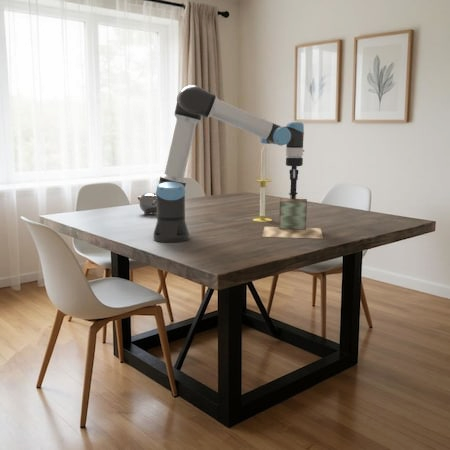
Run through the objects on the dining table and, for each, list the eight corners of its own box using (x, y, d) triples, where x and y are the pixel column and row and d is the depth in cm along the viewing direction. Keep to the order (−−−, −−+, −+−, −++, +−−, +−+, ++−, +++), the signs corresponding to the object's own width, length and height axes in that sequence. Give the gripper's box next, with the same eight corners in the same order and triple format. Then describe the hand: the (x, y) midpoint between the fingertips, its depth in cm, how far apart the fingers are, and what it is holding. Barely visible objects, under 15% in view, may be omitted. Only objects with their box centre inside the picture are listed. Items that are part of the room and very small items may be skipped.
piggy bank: (163, 216, 281) (162, 194, 279) (135, 215, 283) (134, 194, 281) (168, 213, 292) (167, 192, 290) (141, 212, 294) (140, 191, 292)
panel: (279, 229, 249) (279, 201, 243) (279, 226, 252) (280, 198, 245) (305, 229, 248) (306, 202, 241) (305, 226, 250) (306, 199, 244)
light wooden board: (262, 237, 233) (262, 236, 233) (264, 227, 254) (264, 226, 254) (323, 239, 230) (323, 238, 230) (320, 229, 251) (320, 228, 251)
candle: (261, 218, 279) (262, 144, 272) (276, 220, 272) (278, 145, 265) (248, 220, 272) (249, 145, 265) (263, 223, 265) (264, 145, 258)
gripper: (303, 158, 237) (301, 211, 242) (302, 156, 250) (300, 206, 254) (286, 157, 238) (284, 210, 242) (286, 155, 251) (284, 206, 255)
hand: (292, 208), depth 248 cm, fingers closed
